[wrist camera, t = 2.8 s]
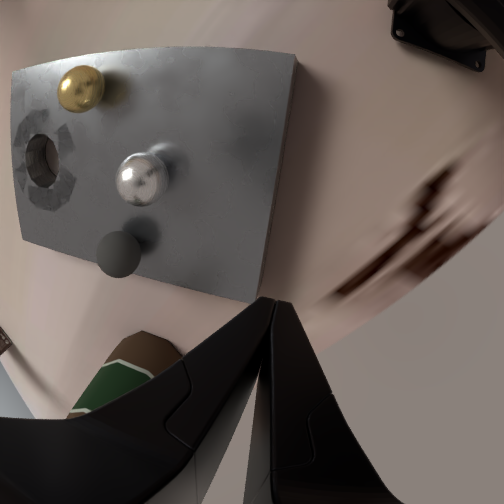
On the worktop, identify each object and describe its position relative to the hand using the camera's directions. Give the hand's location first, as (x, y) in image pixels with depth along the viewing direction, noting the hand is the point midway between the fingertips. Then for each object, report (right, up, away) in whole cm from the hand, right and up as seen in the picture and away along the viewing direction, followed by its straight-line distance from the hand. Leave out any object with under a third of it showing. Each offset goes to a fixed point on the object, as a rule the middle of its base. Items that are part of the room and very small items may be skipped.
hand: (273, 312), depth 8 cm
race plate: (-10, +9, +13) cm, 18 cm away
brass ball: (-11, +12, +7) cm, 17 cm away
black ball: (-10, +1, +12) cm, 15 cm away
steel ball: (-7, +6, +9) cm, 13 cm away
